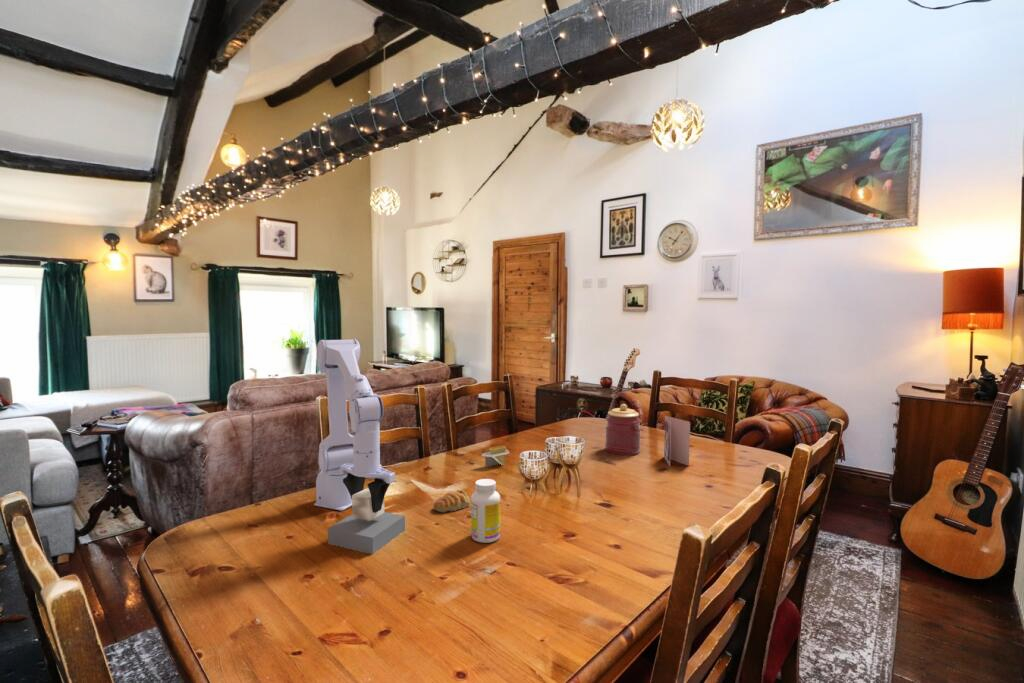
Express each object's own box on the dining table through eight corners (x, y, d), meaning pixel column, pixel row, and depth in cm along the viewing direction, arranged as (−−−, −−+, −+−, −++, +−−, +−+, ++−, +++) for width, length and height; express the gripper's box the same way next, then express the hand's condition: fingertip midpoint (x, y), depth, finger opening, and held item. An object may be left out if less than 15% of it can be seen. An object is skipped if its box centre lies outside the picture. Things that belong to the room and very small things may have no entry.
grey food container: (528, 466, 161) (528, 447, 161) (484, 477, 151) (484, 457, 150) (507, 457, 171) (507, 439, 171) (464, 467, 160) (464, 448, 160)
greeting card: (661, 456, 172) (662, 415, 171) (683, 457, 171) (684, 416, 170) (667, 466, 161) (668, 422, 160) (690, 467, 160) (691, 423, 159)
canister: (605, 454, 174) (606, 406, 173) (604, 445, 187) (605, 400, 186) (642, 456, 172) (643, 408, 171) (638, 446, 185) (639, 401, 184)
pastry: (443, 517, 121) (443, 502, 121) (428, 509, 126) (427, 495, 126) (472, 506, 127) (472, 492, 127) (456, 499, 132) (456, 486, 132)
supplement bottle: (504, 533, 112) (504, 479, 111) (494, 546, 106) (494, 489, 105) (477, 528, 114) (478, 475, 113) (466, 541, 108) (466, 485, 107)
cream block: (352, 516, 108) (351, 495, 108) (367, 508, 113) (367, 488, 113) (369, 521, 106) (369, 499, 106) (384, 512, 111) (384, 491, 110)
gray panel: (328, 545, 106) (327, 528, 106) (363, 523, 117) (363, 507, 117) (372, 556, 102) (372, 537, 102) (405, 532, 113) (405, 515, 113)
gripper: (403, 449, 109) (404, 508, 110) (355, 441, 115) (355, 497, 116) (382, 457, 102) (383, 520, 103) (332, 449, 109) (333, 507, 110)
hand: (367, 508), depth 109 cm, fingers closed on cream block, 5 cm apart
